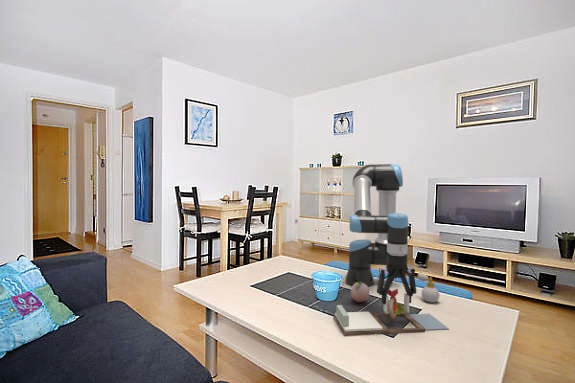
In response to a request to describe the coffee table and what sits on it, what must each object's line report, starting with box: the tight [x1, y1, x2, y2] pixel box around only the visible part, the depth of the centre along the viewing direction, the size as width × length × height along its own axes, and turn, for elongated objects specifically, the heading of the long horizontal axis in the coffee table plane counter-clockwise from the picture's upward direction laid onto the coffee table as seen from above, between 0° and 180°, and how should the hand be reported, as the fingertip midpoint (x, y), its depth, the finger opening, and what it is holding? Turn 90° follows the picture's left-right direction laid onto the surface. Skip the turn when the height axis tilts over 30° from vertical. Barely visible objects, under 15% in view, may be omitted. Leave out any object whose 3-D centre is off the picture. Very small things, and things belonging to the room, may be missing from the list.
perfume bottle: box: [417, 272, 440, 304], centre depth 141 cm, size 8×10×12 cm
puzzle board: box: [333, 311, 426, 337], centre depth 118 cm, size 15×30×1 cm, turn 96°
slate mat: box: [408, 313, 450, 332], centre depth 120 cm, size 13×9×1 cm
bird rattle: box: [387, 288, 405, 320], centre depth 118 cm, size 6×11×9 cm
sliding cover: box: [334, 304, 383, 332], centre depth 117 cm, size 14×14×5 cm
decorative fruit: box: [350, 281, 370, 303], centre depth 139 cm, size 9×8×10 cm
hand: (396, 311), depth 119 cm, fingers closed on bird rattle, 8 cm apart
